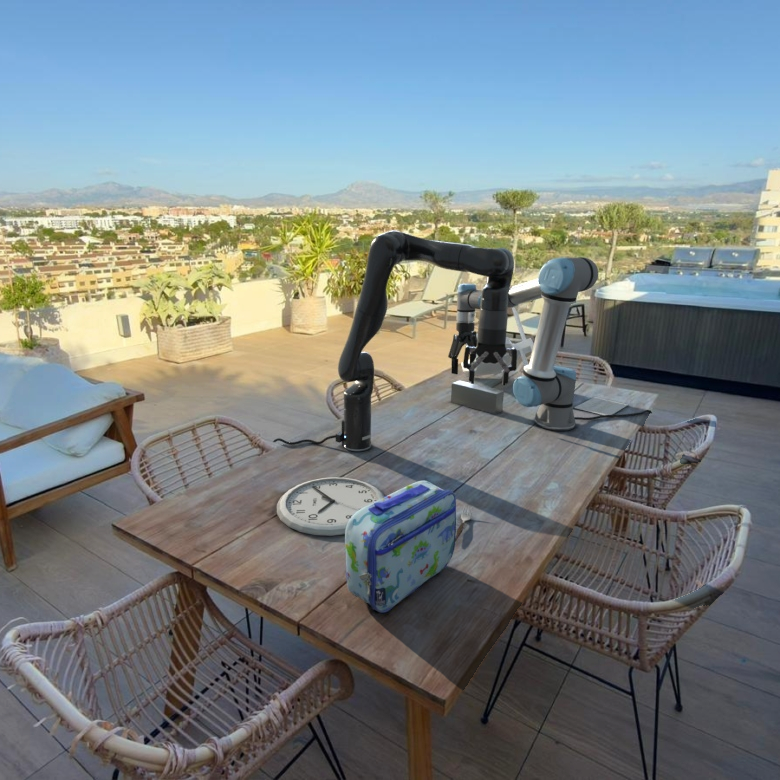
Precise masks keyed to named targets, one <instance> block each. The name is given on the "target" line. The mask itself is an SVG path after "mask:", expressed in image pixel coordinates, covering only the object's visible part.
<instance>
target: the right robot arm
mask: <svg viewBox="0 0 780 780" xmlns="http://www.w3.org/2000/svg"><path fill="white" fill-rule="evenodd" d="M598 278H599V269H598V266H597V264H596V263H595V262H594V261H593V260H592V259H590V258H588V257H584V256H582V257H581V256H578V257H563V256H561V257H557V258H552V259H550V260H548V261H547V262H545V263H544V264H543V265H542V267H541V268H540V270H539V273H538V276H537V278H535V279H532V280H529V281H526V282H523V283H520V284H516V285H512V286H510V288H509V292H508V307H507V309H508V308H509V309H510V308H513V307H517V306H518V305H520V304H521V305H522V304H525V303H528V302H532V301H536V300H539V299H543V305H542V308H541V313H540V317H539V322H538V325H537V328H536V329H537V330H536V333H535V338H534V341H533V343H534V346H533V350H532V352H531V353H530V359H529V362H528V365H526V366H525V367H524V366H523V370H522V373H521V376H518V377H517V378H516V379H515V380H514V381H513V384H512V393H513V396H514V397H515V399H516V401H517V402H518V404H520V405H521V406H523V407H526V408H532V407H534V408H536V407H538V406H539V407H538V410H537V411H536V413H535V415H534V424H535V425H536V426H537V427H539V428H542V429H544V430H549V431H556V432H567V431H572V430H574V429H575V428H576V420H577V421H578V420H579V421H590V420H591V421H592V420H597V419H598V420H599V419H602V418H625V417H634V416H640V415H645V414H646V413H649V414H653V412H652V410H650V409H645V410H642V411H639V412H633V413H624V414H623V413H622V414H613V415H597V416H592V417H582V416H581V417H580V416H575V413H574V407H573V405H574V398H575V390H576V383H577V372H576V371H575V369H572V368H571V367H570V368H569V367H566V366H561V365H555V364H556V359H557V356H558V352H559V348H560V345H561V340H562V336H563V333H564V329H565V326H566V322H567V318H568V314H569V311H570V307H571V305H573V304H574V303H576V302H577V298H578V295H579V293H582V292H586V291H588V290H590V289H592V288H593V287H594V285H596V283H597V282H598ZM482 290H483V289H482ZM482 290H481V289H477V285H476V284H474V283H460V284H458V286H457V293H456V296H457V297H456V321H457V322H456V327H455V328H456V329H455V330H456V331H457V333H458V334H453V336H452V342H451V346H450V349H449V351H448V356H447V357H448V358H449V359H450V360H451V374H452V375H459V358H458V357H459V355H460V353H461V350H462V348H463V347H465V345H469V346H470V347H476V345H477V337H476V334H477V331H475V325H476V324H475V318H476V310H480V308H481V294H482ZM469 359H470V364H472V363H473V361H474V360H475V359H476V352H475V351H473V352H472V354H471V355H469Z"/></svg>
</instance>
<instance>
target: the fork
mask: <svg viewBox="0 0 780 780" xmlns="http://www.w3.org/2000/svg"><path fill="white" fill-rule="evenodd" d="M468 505H469V504H468ZM468 505H467V506H466V505H464V506H463V508H462V512H461V516H460V519H461V520H462V522H461V523H460V525H459V526H458V528H457V529H456V535H455V543H456V542H457V540H458V539H459V537H460V535H461V534H462V532H463V529H464V525H465V522H467V521H470V520H471V519H472V515H473V508H474V506H473V505H472V507H471V506H469V507H468ZM470 510H471V511H470Z"/></svg>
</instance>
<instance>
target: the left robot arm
mask: <svg viewBox="0 0 780 780" xmlns="http://www.w3.org/2000/svg"><path fill="white" fill-rule="evenodd" d="M407 261H408V262H409V261H420V262H425V263H428V264H431V265H433V266H436V267H437V268H441V269H444V270H449V271H455V272H461V273H462V272H463V273H471V274H475V275H479V276H483V277H486V283H485V286H483V288H482V294H481V308H480V309H479V315H478V321H477V324H478V325H477V334H478V337H477V345H476V347H470V346H469V345H467V344H465V345H464V354H463V361H462V362H463V367H464V368H466V369H469V377H468V381H469V383H471V384H475V376H474V374H475V370H474V369H475V368H476V367H477V366H478V365H479V364H480V363H481V362H484V363H493V364H496V363H498V362H499V363H500V365H501V366H502V368H503V370H502V382H501V383H502V384H501V386H506V384H508V383H509V376H510V373H511V372H513V371H514V372H515V371H517V367H518V366H517V364H518V359H517V350H516V348H515V347H513V348H506V347H505V343H506V338H507V330H508V292H509V288H510V287H511V284H512V281H513V280H512V279H513V276H514V270H515V258H514V255H513V253H512V252H511V251H510V250H509V249H507V248H504V247H499V248H488V247H478V246H477V247H476V246H474V245H472V244H471V245H470V244H464V243H457V242H447V241H439V240H433V239H427V238H424V237H423V238H422V237H419V236H415V235H412V234H409V233H406V232H402V231H399V230H389V231H386V232H384V233H381V234H379V235H377V236H376V237H374V238H373V240H372V241H371V243H370V245H369V250H368V255H367V263H366V268H365V274H364V278H363V283H362V285H361V290H360V293H359V297H358V300H357V303H356V306H355V309H354V315H353V319H352V323H351V326H350V329H349V332H348V335H347V339H346V341H345V344H344V346H343V349H342V351H341V355H340V357H339V360H338V364H337V372H338V376H339V379H340V380H341V381H343V382H345V383H352V384H351V385H350V386H349V387H348V388H346V389H345V390H344V392H343V419H342V420H341V431H338V432H337V433H335V434H333V435H330V436H329V435H328V436H326V437H324V438H323V439H321V441H316V440H313V439H301V440H297V441H287V440H285V439H282V438H280V437H279V438H275V439H274V440H273V441H272V442H273V443H276V442H278V441H279V442H282V443H284V444H286V445H290V446H295V445H298V444H302V443H312V444H314V445H322V444H323V443H325V442H326V441H328V440H330V439H335V442H336V443H339V444H340V443H341V447H343V448H344V449H345V450H347V451H350V452H356V453H357V452H364V451H367V450H370V449H371V448H372V395H373V391H374V381H375V380H374V379H375V364H374V359H373V356H372V355H371V354H370V353H369V352H367V351H363V350H364V349H365V348H366V346H367V344H369V342H371V340H372V339H373V338H374V337H375V336H376V335H377V334H378V332H379V331H380V330H381V328H382V326H383V324H384V321H385V319H386V315H387V312H388V305H389V304H388V303H389V302H388V301H389V300H388V294H387V293H388V292H387V287H388V282H389V279H390V276H391V275H392V271H393V270H394V267H395V266H396V265H398V264H400V263H402V262H407ZM473 351H475V352H476V354H477V355H478V356H477V358H476V359H475V360H474V361H473V363H472V364H469V363H468V360H469V359H470V355H471V354H472V352H473ZM506 352H507V353H509V356H511V364H510V365H509V366H507V364H506V363H505V361H504V360H503V358H502V357H503V356H504V355H505V354H506ZM289 442H290V443H289Z"/></svg>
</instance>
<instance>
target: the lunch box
mask: <svg viewBox="0 0 780 780" xmlns="http://www.w3.org/2000/svg"><path fill="white" fill-rule="evenodd" d="M456 534H457V499H456V495H455V493H454V492H453V490H450V489H442V488H440V487H439V486H437V485H435V484H433V483H432V482H430V481H428V480H418V481H416V482H413V483H410V484H409V485H406V486H405V487H402V488H400V489H398V490H396V491H394V492H392V493H390V494H388V495H385V497H384V498H382V499H380V500H378V501H376V502H374V503H372V504H370V505H368V506H366V507H364V508H362V509H360V510H358V511H357V512H355V513H354V514H353V515H352V517H351V518H350V520H349V522H348V524H347V527H346V531H345V534H344V552H345V577H346V578H345V580H346V586H347V589H348V592H349V593H350V594H352V595H354V596H356V597H357V598H359V599H361V600H363V602H365V603H367V604H368V605H370V607H371V608H372V609H373V610H375V611H376V612H378V613H380V614H382V613H383V614H385V613H387V612H389V611H391V609H393V608H394V607H395V606H396V605H397V604H400V602H401V601H402V600H404V599H406V597H409V596H410V595H411V594H412V593H414V592H415V591H416V590H417V589H418V588H420V587H421V586H422V585H423V584H424V583H425V582H427V581H428V580H430V579H432V578H433V577H434V576H436V575H437V574H439V573H441V572H442V571H443V570H445V568H446V567H447V566H448V564H449V563H450V561H451V560H452V557H453V554H454V551H455V548H456V547H455V546H456V542H455V538H456Z"/></svg>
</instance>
